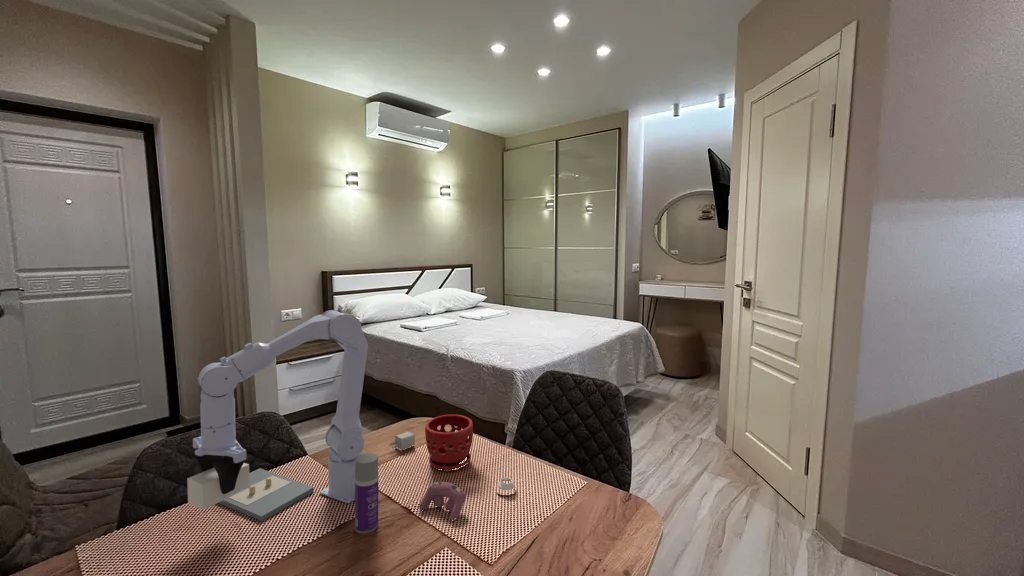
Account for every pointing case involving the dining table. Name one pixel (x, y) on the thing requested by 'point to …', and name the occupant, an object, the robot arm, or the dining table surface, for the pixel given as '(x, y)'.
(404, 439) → the usb wall charger
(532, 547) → the dining table surface
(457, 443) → the plant pot
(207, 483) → the block
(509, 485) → the grey rounded piece
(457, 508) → the video game controller
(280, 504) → the stub plate
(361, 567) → the dining table surface
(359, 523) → the container
